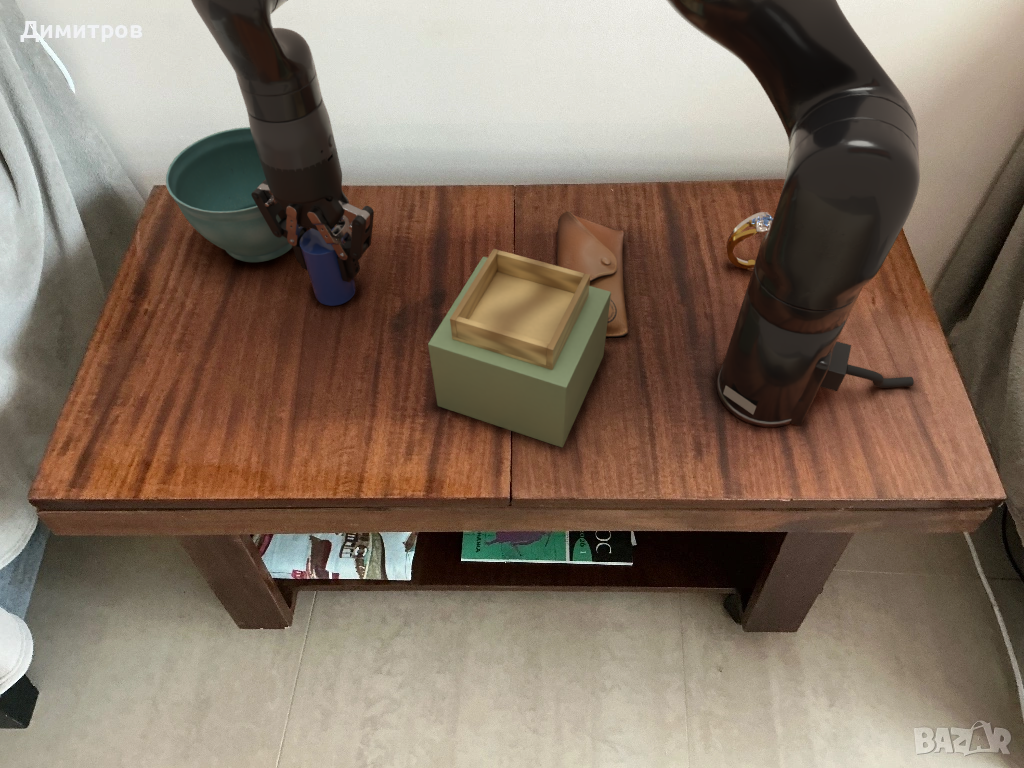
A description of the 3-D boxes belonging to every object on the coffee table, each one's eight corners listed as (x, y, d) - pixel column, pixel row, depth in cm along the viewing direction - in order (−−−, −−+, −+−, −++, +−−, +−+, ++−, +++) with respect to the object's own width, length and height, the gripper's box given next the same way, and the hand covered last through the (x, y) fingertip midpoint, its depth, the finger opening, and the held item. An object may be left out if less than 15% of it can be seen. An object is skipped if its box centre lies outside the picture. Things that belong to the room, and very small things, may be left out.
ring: (721, 276, 92) (736, 224, 86) (719, 258, 94) (733, 206, 88) (781, 279, 92) (800, 227, 86) (777, 260, 94) (795, 208, 88)
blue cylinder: (363, 283, 93) (351, 231, 86) (342, 310, 90) (329, 258, 84) (328, 273, 94) (313, 221, 88) (307, 299, 91) (291, 248, 85)
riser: (603, 355, 85) (611, 291, 77) (562, 448, 78) (566, 387, 70) (486, 320, 89) (483, 256, 81) (437, 406, 81) (427, 344, 74)
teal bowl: (241, 186, 104) (215, 115, 96) (349, 211, 101) (332, 139, 92) (171, 266, 95) (136, 195, 87) (287, 296, 92) (262, 225, 83)
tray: (588, 296, 77) (590, 274, 75) (552, 370, 71) (553, 349, 69) (494, 269, 80) (493, 248, 77) (452, 339, 74) (449, 318, 72)
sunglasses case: (633, 335, 86) (606, 298, 82) (577, 355, 89) (548, 320, 85) (624, 227, 97) (600, 190, 93) (574, 248, 100) (549, 213, 96)
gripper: (212, 149, 76) (259, 276, 89) (340, 181, 72) (369, 309, 85) (255, 108, 80) (294, 236, 93) (378, 137, 76) (400, 265, 90)
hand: (330, 270), depth 89 cm, fingers closed on blue cylinder, 5 cm apart
